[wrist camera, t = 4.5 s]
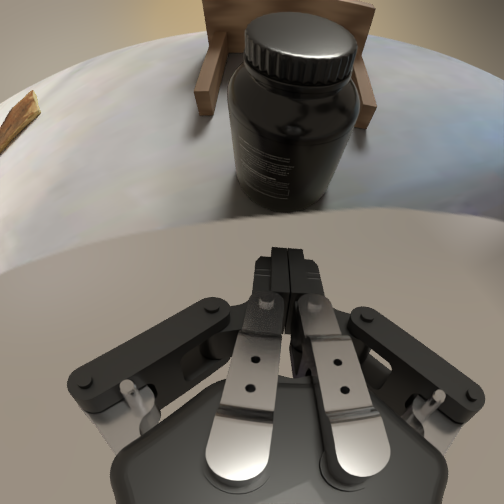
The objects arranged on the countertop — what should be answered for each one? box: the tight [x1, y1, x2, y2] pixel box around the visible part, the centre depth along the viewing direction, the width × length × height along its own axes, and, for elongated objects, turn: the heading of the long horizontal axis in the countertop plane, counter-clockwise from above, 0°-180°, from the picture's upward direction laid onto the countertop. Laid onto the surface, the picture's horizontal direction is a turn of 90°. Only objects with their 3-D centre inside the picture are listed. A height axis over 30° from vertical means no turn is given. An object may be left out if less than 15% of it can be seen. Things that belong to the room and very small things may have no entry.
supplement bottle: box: [227, 12, 360, 212], centre depth 15 cm, size 7×7×12 cm
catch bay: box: [194, 0, 377, 129], centre depth 19 cm, size 16×11×8 cm
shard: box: [0, 90, 41, 153], centre depth 23 cm, size 11×8×2 cm
